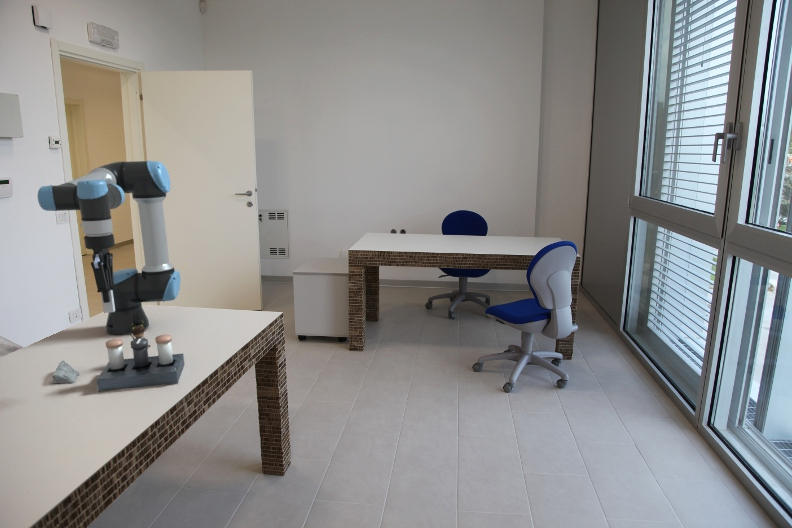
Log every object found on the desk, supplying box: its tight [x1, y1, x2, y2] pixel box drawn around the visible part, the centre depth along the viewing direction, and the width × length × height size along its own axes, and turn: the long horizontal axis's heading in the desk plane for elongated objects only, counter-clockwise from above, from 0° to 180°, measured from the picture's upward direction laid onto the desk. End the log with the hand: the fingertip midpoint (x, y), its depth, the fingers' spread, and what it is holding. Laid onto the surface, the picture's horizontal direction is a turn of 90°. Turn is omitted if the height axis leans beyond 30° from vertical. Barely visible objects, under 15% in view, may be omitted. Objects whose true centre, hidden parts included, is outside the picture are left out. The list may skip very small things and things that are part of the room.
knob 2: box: [154, 334, 173, 365], centre depth 163 cm, size 5×5×8 cm
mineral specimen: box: [51, 360, 80, 384], centre depth 165 cm, size 6×12×4 cm, turn 21°
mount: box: [96, 353, 185, 393], centre depth 163 cm, size 14×22×4 cm, turn 104°
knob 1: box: [105, 338, 125, 369], centre depth 160 cm, size 5×5×8 cm
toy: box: [129, 321, 151, 350], centre depth 174 cm, size 6×6×15 cm
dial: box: [129, 337, 149, 367], centre depth 162 cm, size 5×5×8 cm
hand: (109, 311), depth 157 cm, fingers closed
